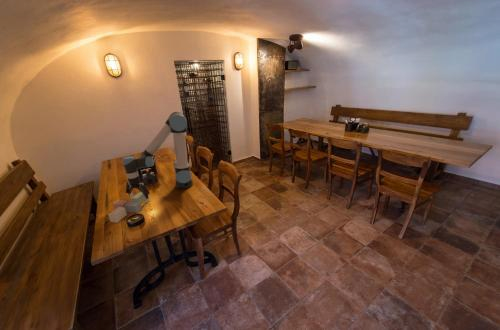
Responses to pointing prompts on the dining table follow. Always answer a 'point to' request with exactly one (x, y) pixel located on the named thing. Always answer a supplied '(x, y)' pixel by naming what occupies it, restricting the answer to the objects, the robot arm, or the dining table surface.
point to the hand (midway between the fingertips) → (140, 201)
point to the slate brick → (133, 207)
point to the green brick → (138, 197)
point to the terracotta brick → (119, 204)
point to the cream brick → (117, 214)
